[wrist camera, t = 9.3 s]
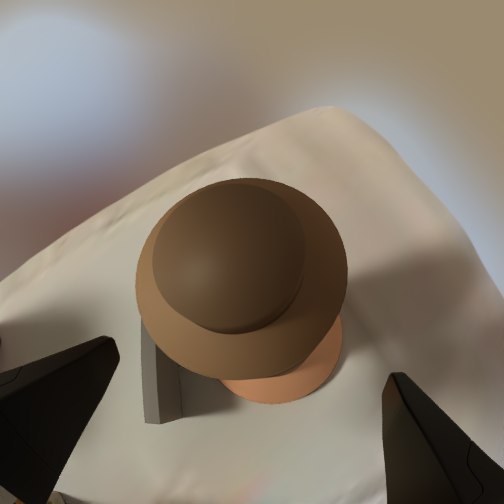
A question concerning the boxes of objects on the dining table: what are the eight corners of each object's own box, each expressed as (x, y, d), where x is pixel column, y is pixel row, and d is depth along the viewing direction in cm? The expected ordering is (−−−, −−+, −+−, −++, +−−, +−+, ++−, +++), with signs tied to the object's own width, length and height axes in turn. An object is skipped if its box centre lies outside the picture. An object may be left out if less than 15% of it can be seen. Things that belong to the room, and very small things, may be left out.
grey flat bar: (182, 417, 16) (159, 424, 13) (169, 417, 16) (145, 423, 13) (177, 270, 21) (157, 250, 18) (165, 271, 21) (144, 252, 18)
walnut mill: (259, 392, 16) (177, 428, 4) (217, 326, 18) (93, 228, 6) (328, 346, 16) (407, 273, 5) (283, 283, 19) (261, 125, 7)
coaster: (295, 426, 15) (295, 428, 14) (182, 356, 18) (179, 355, 17) (363, 309, 18) (365, 307, 17) (251, 252, 21) (250, 248, 20)
